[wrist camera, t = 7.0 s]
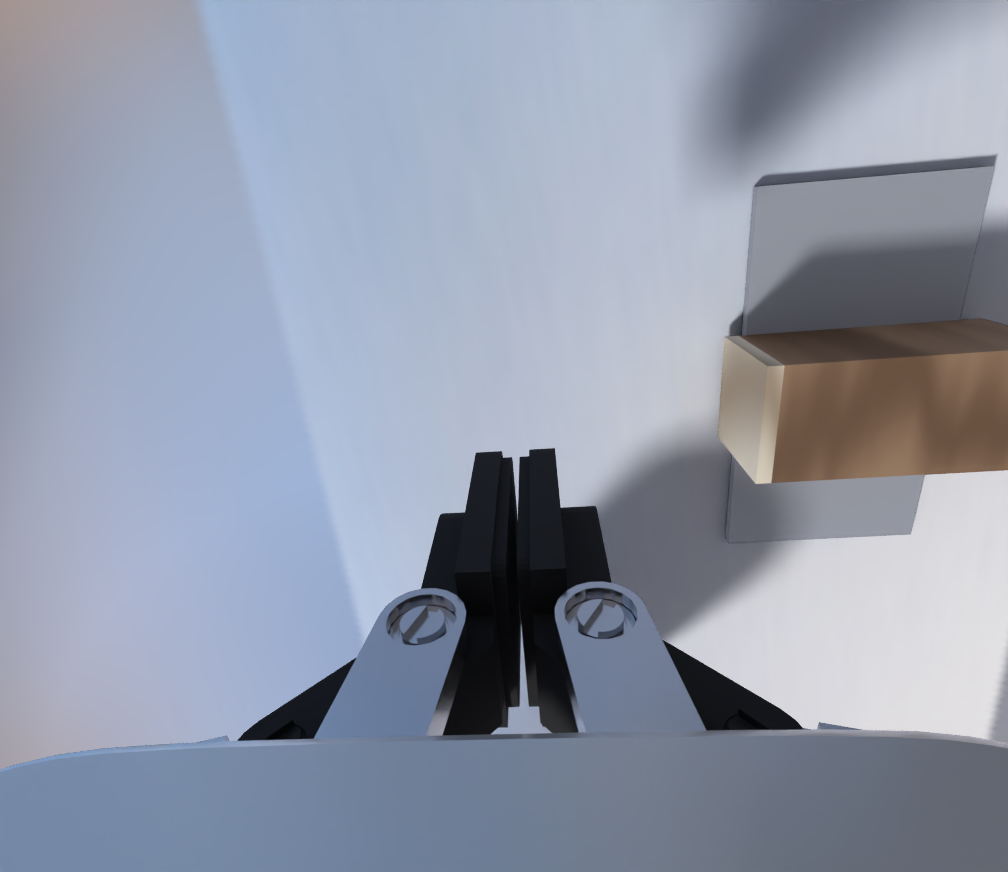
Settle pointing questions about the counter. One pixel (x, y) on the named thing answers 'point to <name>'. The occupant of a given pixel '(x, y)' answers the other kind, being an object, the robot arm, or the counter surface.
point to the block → (867, 401)
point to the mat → (852, 315)
